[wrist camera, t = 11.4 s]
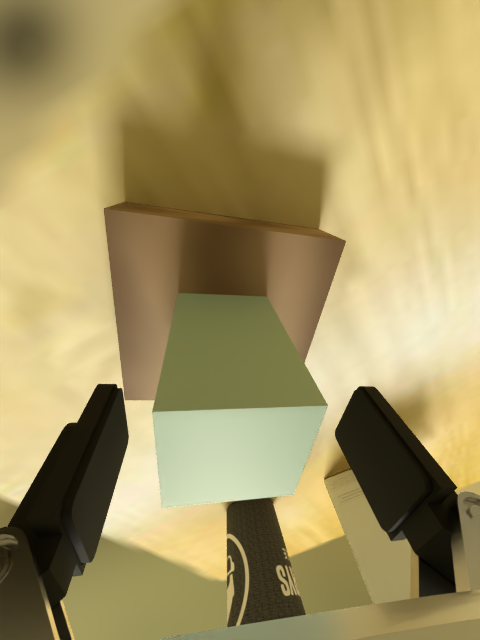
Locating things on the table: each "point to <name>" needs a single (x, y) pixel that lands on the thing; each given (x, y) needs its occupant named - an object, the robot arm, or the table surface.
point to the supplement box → (371, 542)
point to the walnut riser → (208, 276)
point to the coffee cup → (258, 566)
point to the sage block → (232, 403)
